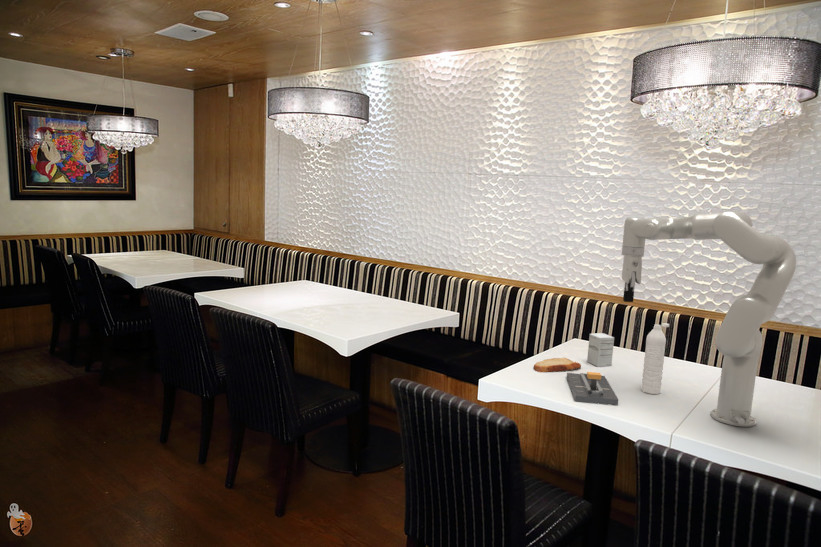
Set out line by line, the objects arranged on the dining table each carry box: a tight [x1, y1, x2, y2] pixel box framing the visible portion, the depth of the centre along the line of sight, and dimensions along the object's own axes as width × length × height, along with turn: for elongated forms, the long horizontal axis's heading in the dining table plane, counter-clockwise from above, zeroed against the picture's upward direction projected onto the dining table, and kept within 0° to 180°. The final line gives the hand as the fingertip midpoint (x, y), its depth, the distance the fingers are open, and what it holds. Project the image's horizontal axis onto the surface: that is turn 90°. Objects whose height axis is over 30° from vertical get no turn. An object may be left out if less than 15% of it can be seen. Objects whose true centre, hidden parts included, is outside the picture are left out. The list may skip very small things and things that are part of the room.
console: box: [566, 372, 619, 406], centre depth 204 cm, size 26×14×3 cm, turn 171°
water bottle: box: [640, 322, 670, 395], centre depth 205 cm, size 9×6×25 cm
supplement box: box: [586, 332, 615, 368], centre depth 237 cm, size 7×7×13 cm
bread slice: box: [533, 357, 582, 373], centre depth 230 cm, size 18×18×4 cm
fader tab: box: [586, 371, 602, 390], centre depth 199 cm, size 3×4×6 cm, turn 81°
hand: (628, 301), depth 207 cm, fingers closed
